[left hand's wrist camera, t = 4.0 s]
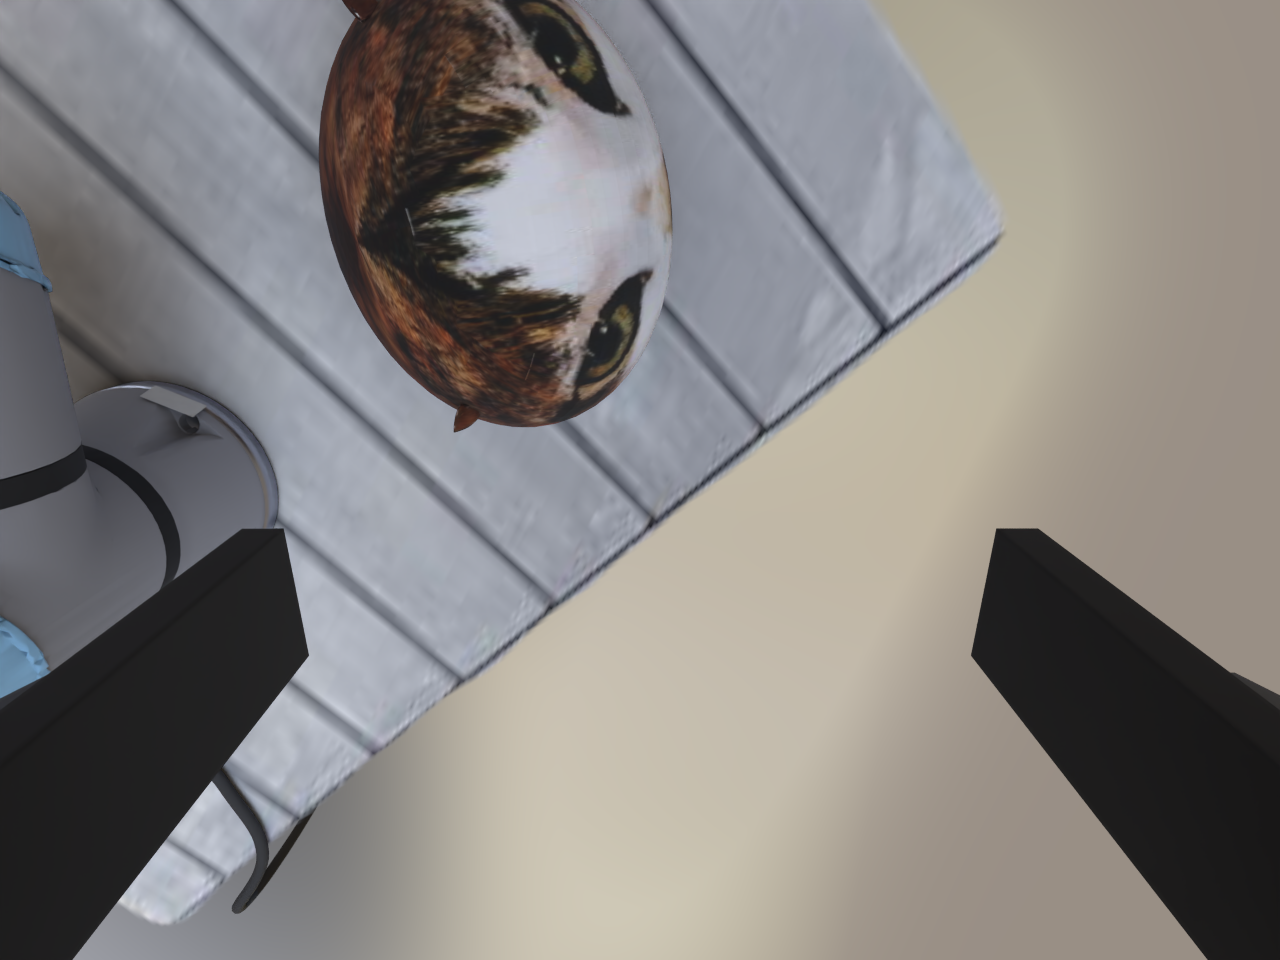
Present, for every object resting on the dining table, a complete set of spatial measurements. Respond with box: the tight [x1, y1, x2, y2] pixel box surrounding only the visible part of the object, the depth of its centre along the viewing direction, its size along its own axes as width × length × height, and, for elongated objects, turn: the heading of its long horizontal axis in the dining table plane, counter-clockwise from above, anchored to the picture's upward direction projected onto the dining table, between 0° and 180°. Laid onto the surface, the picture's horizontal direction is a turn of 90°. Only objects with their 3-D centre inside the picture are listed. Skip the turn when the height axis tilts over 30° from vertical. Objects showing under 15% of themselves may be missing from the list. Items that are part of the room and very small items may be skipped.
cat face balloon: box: [319, 0, 672, 432], centre depth 37 cm, size 22×18×20 cm
